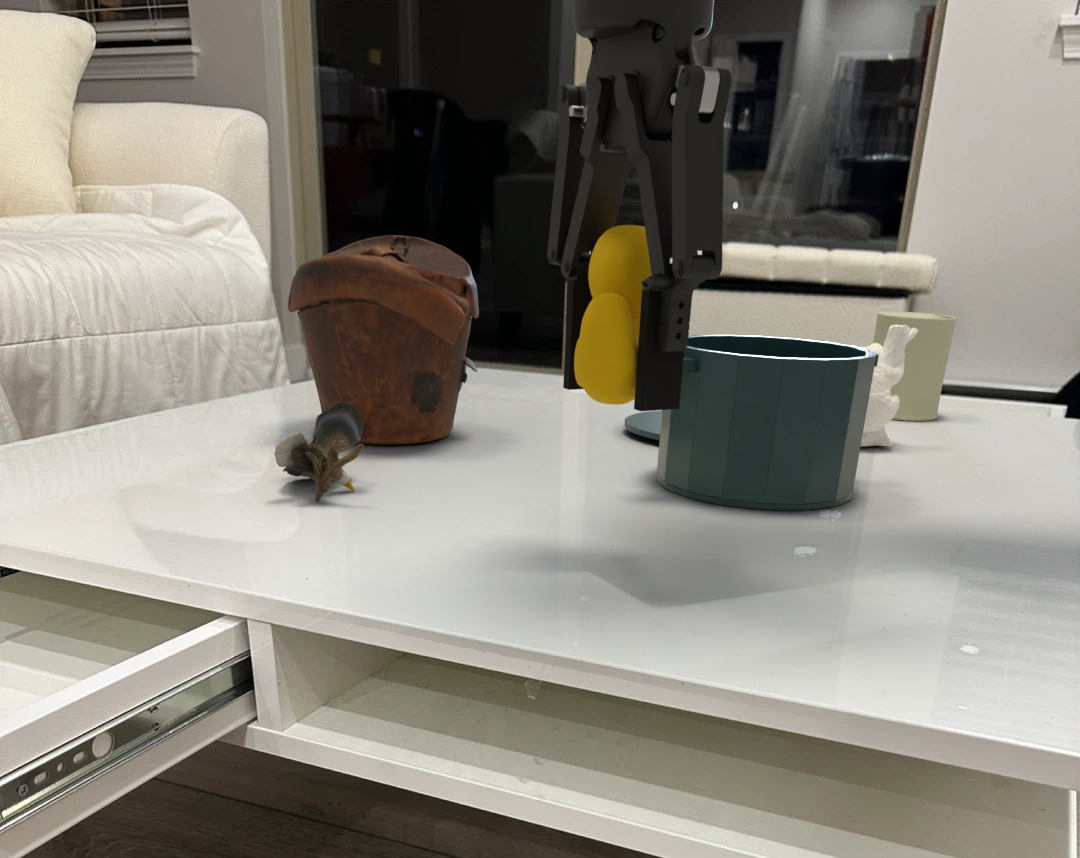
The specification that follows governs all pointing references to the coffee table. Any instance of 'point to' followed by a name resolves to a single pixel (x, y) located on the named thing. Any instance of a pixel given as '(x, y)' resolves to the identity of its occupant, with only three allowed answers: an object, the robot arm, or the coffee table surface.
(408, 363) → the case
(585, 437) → the coffee table surface
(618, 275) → the duckling
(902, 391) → the green tapered cup
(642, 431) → the lid
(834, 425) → the pot
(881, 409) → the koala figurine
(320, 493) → the eagle figurine
